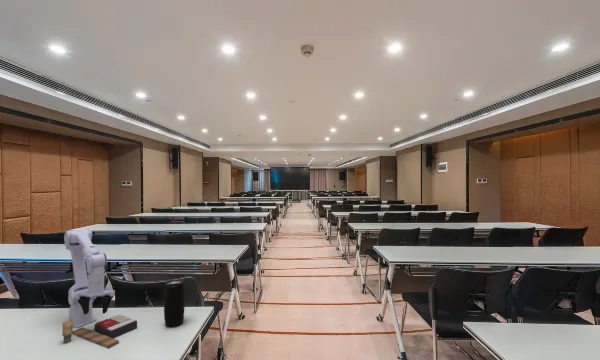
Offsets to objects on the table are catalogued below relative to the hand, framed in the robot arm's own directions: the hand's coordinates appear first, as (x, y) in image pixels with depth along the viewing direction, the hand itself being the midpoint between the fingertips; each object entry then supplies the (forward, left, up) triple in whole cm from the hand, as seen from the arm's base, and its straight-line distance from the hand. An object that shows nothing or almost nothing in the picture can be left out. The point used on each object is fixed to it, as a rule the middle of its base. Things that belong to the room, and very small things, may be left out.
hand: (95, 313), depth 121 cm
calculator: (+5, +5, -9) cm, 12 cm away
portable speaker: (+25, +20, -9) cm, 33 cm away
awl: (-3, -9, -8) cm, 13 cm away
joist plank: (+5, -3, -8) cm, 10 cm away
